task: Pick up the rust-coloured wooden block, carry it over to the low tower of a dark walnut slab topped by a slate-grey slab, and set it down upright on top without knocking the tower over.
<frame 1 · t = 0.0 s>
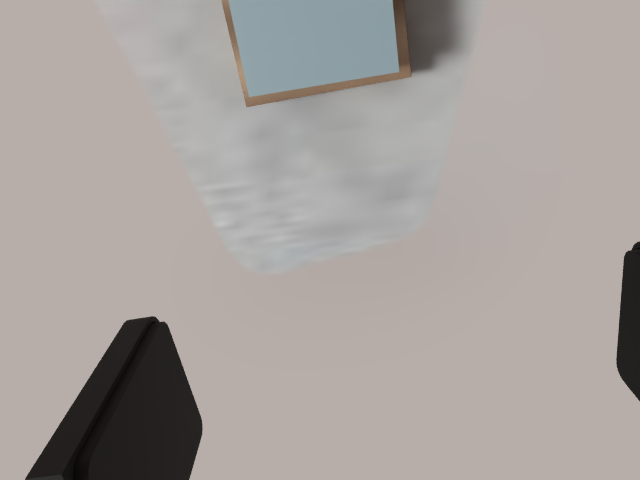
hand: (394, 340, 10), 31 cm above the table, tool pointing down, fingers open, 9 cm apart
top block: (311, 2, 34), point 2 cm above the table, touching base block
base block: (313, 1, 37), on the table, touching top block
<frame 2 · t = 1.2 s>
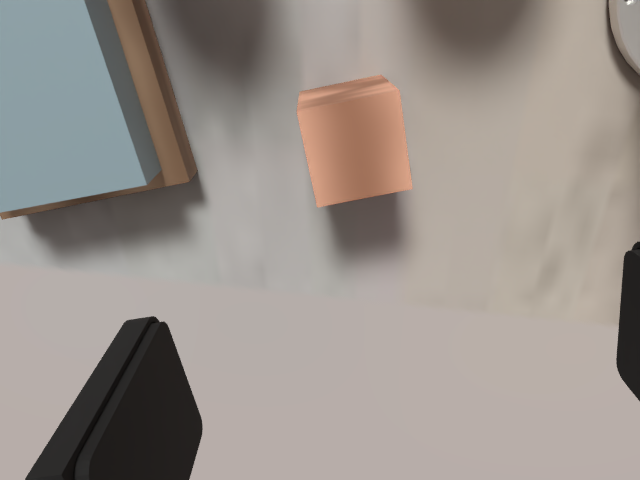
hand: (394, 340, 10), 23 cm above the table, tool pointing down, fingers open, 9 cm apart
top block: (48, 101, 29), point 2 cm above the table
base block: (77, 94, 31), on the table
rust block: (347, 124, 32), on the table
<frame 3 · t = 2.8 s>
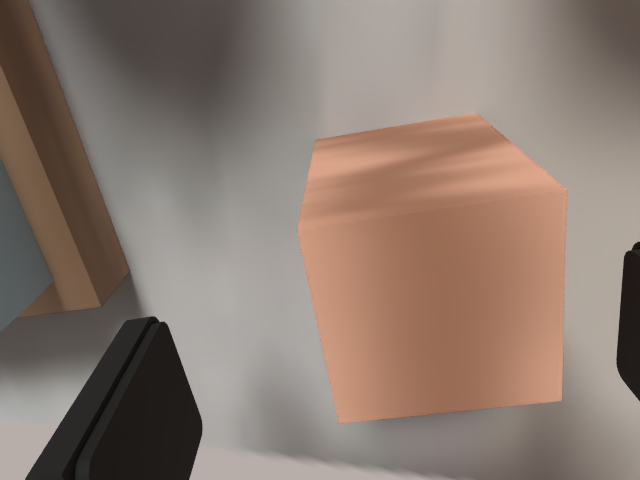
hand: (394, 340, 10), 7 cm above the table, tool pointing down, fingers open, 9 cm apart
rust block: (403, 200, 17), on the table
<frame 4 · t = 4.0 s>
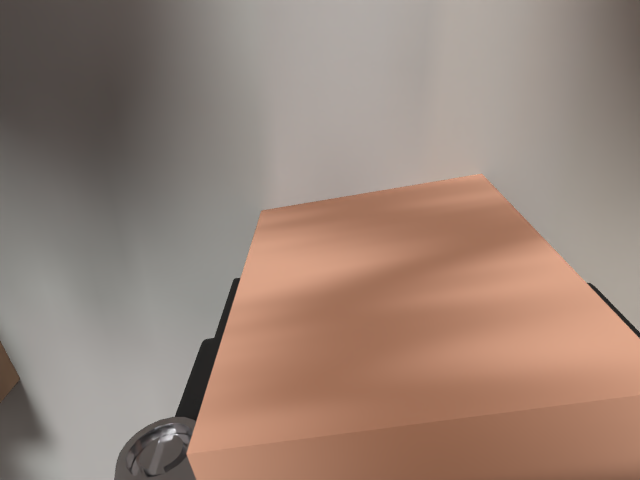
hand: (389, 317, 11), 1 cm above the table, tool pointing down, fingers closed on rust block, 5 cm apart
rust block: (383, 287, 12), on the table, touching gripper
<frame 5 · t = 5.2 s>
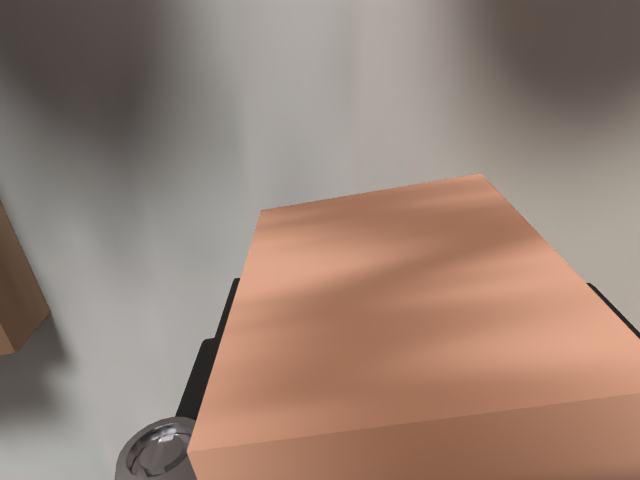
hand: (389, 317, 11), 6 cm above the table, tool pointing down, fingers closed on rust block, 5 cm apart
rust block: (383, 287, 13), point 4 cm above the table, touching gripper
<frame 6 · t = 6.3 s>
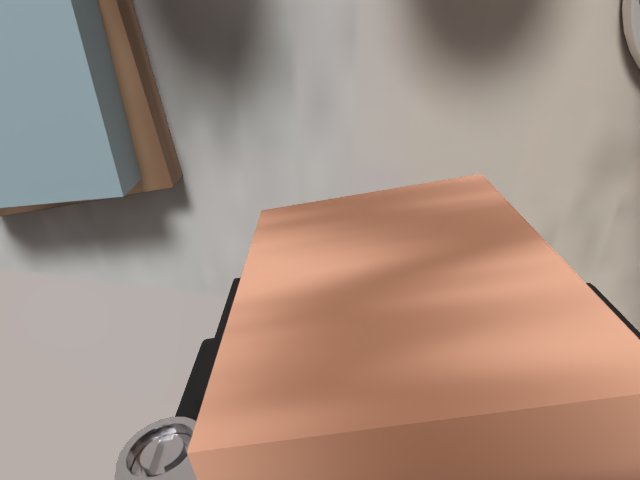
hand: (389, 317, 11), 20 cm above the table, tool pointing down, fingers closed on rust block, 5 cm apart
top block: (26, 97, 27), point 2 cm above the table, touching base block
base block: (57, 91, 30), on the table, touching top block
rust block: (383, 287, 13), point 19 cm above the table, touching gripper
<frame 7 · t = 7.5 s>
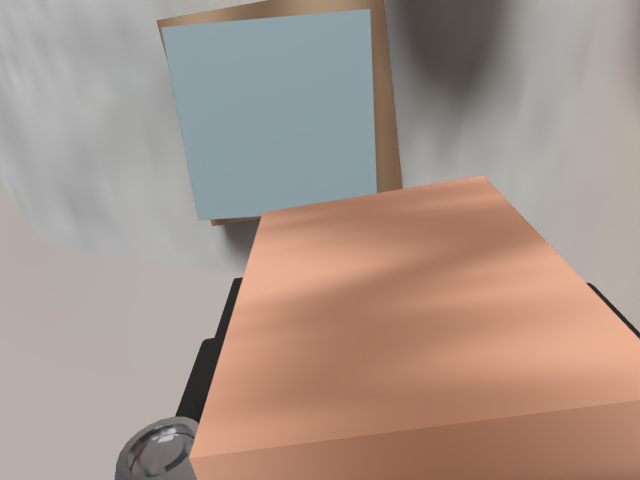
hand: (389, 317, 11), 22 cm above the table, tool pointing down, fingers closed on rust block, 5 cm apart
top block: (281, 113, 29), point 2 cm above the table, touching base block
base block: (292, 106, 32), on the table, touching top block
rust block: (384, 289, 12), point 21 cm above the table, touching gripper
when the fingers open (8 cm above the table, at t = 11.4 s): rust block drops 1 cm, point 5 cm above the table.
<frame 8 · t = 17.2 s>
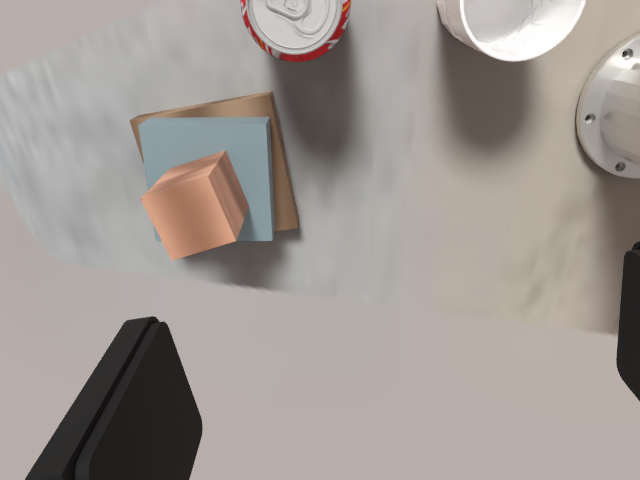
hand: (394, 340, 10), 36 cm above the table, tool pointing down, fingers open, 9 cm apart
top block: (215, 175, 44), point 2 cm above the table, touching base block
soda can: (302, 4, 41), on the table
base block: (223, 167, 47), on the table, touching top block
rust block: (209, 187, 42), point 5 cm above the table
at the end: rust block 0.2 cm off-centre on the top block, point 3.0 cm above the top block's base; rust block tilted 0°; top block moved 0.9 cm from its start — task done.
